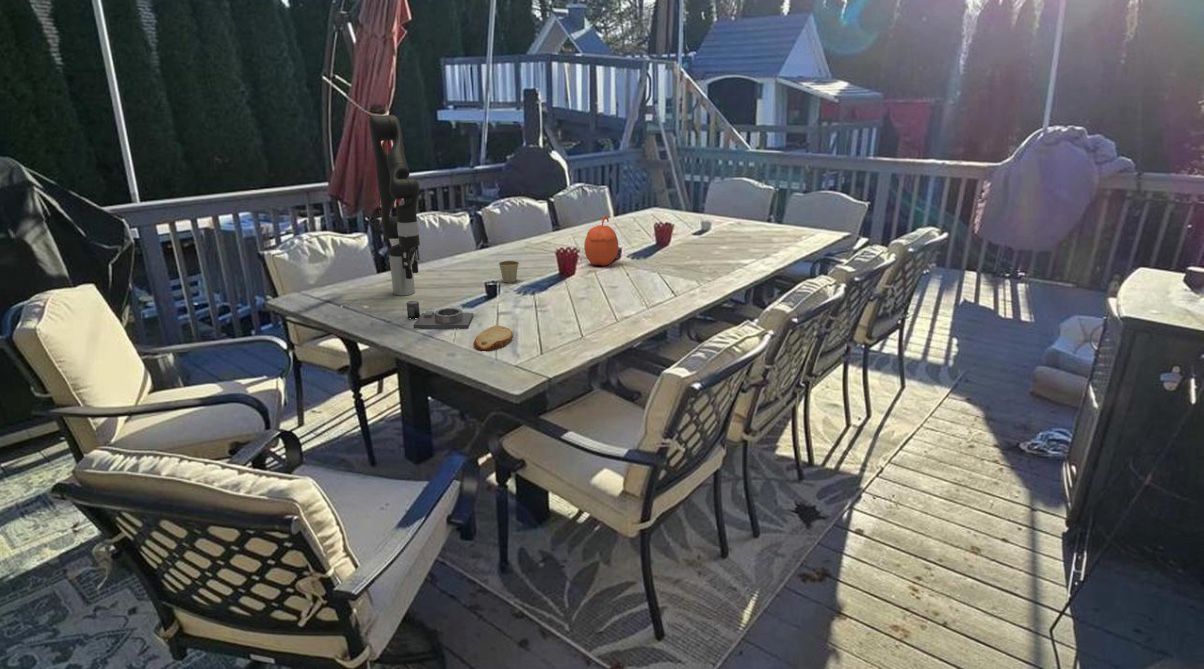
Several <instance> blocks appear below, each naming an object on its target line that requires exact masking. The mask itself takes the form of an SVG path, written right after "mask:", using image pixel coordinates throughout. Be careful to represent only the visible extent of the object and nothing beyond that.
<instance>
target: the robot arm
mask: <svg viewBox="0 0 1204 669" xmlns="http://www.w3.org/2000/svg"><path fill="white" fill-rule="evenodd" d="M401 127H402V126H401V123H400V120H399V118H398V117H397V116H396V115H393V114H386V115H384V114H383V115H382V114H381V115H373V116H370V117H369V130H370V136H371V143H372V148H373V153H374V160H375V170H376V181H377V182H376V183H377V187H378V194H379V200H380V210H381V211H380V212H381V225H382V226H381V227H382V233H383V236H384V238H385V239H387V240H398V243H397V244H394V245H393V246H390V247H389V248H388V257H389V258H388V260H389V265H390V266H389V267H390V274H391V276H390V277H391V285H392V294H393V295H394V296H409V295H413V294H415V293H416V290H415V288H416V287H415V277H414V274H418V273H419V261H420V252H419V246H420V244H421V242H420V241H421V240H420V233H419V232H420V231H419V224H418V216H417V204H418V198H419V194H420V193H419V192H420V184H419V182H418V181H417V180H416V179H415V178H409V177H410V169H409V166H408V161H407V159H406V155H405V146H404V140H403V134H402V128H401ZM384 141H393V144H392V145H391V147H390V150H389V151H388V153H387V152H386V151H385V148H383V145H382V142H384ZM403 199H406V200H407V199H409V200H408V201H407V202H406V203H404V204H401V205H398V206H397V207H396V209H395V210H396V212H395V213H396V216H391V211H392V208H393V206H394V205H395V202H396V200H403Z"/></svg>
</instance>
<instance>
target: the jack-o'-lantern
mask: <svg viewBox="0 0 1204 669" xmlns="http://www.w3.org/2000/svg"><path fill="white" fill-rule="evenodd" d="M605 220H606V221H607V223H609V221H610V220H609V217H608V216H607V215H604V216H603V218H602V220H601V224H599V225H598V224H597V225H596V226H594V227H591V228H590V229H589V230H588V231H587V234H586V237H585V239H584V254H585V256H586V258H587V261H589V262H590V263H591V264H592V265H594V266H603V267H604V266H608V265H609V264H611V263H612V262H613V261H614V260H615V258H616V257H617V255H618V252H619V240H618V237H617V233H616V231H615V230H614V229H613V228H612V227H610V226H609V225H604V222H605Z"/></svg>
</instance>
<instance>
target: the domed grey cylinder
mask: <svg viewBox="0 0 1204 669" xmlns="http://www.w3.org/2000/svg"><path fill="white" fill-rule="evenodd" d="M406 312H407V319H408V318H411V319H410V320H416V319H415V318H419V316H420V315H421V312H420V302H419V301H417V300H409V301H407V302H406Z"/></svg>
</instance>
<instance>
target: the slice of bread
mask: <svg viewBox="0 0 1204 669" xmlns="http://www.w3.org/2000/svg"><path fill="white" fill-rule="evenodd" d="M512 338H513V339H514V333H513V331H512V330H511V329H510V328H508V327H506V326H504V325H503V326H502V325H493V326H490V327H489V328H486V329H485V330H483V331H482V332H480V333H479V334H478V335H476V337H475V339H474V341H473V347H474V348H475V349H476V350H477V351H479V352H482V351H486V352H493V351H496V350H499V348H500V349H503V348H505V347H507V346H508V345H509V344H511V343H512V341H513V339H512ZM506 345H507V346H506ZM504 346H505V347H504ZM502 347H503V348H502ZM495 349H496V350H495Z"/></svg>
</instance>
